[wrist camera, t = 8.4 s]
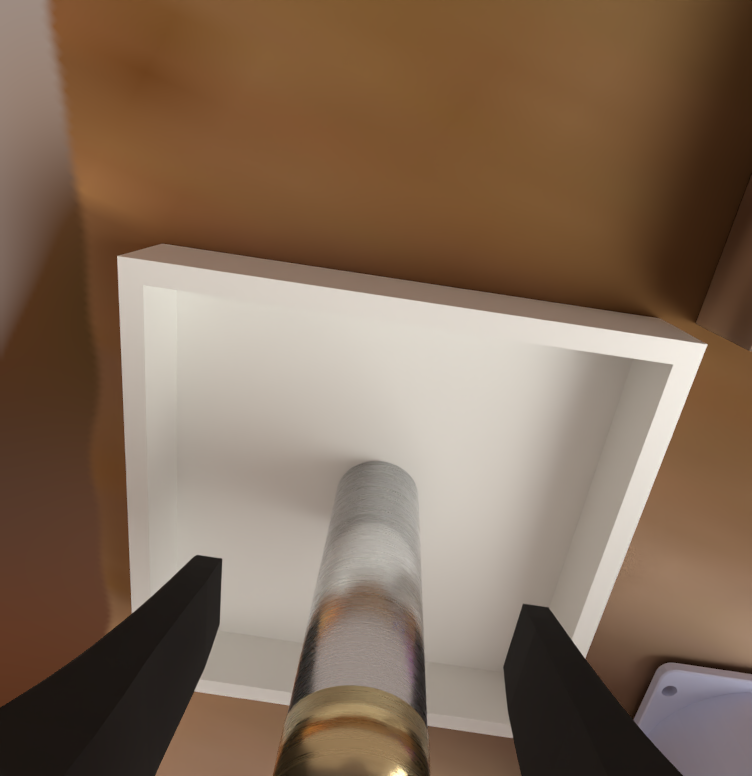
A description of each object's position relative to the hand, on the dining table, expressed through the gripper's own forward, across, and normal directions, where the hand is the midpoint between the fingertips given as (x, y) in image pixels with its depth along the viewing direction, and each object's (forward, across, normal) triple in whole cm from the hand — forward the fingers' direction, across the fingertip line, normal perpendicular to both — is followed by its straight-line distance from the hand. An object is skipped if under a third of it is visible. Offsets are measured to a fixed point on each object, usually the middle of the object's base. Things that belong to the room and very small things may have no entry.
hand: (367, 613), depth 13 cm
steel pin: (+5, 0, 0) cm, 5 cm away
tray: (+5, 0, 0) cm, 5 cm away
